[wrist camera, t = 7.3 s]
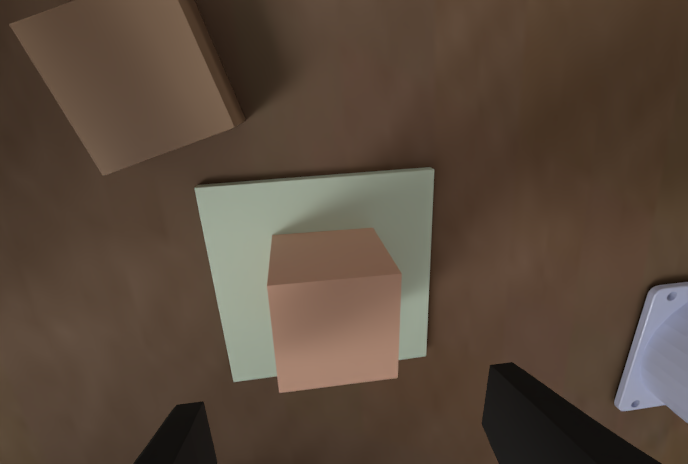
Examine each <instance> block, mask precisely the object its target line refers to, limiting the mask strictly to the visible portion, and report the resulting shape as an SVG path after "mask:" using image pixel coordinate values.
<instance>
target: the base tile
mask: <svg viewBox="0 0 688 464" xmlns="http://www.w3.org/2000/svg"><path fill="white" fill-rule="evenodd" d="M194 189H195V194H196V199H197V204H198V209H199V214H200V219H201V224H202V229H203V234H204V238H205V243H206V248H207V253H208V258H209V263H210V268H211V273H212V278H213V283H214V288H215V293H216V298H217V303H218V308H219V313H220V317H221V322H222V327H223V332H224V337H225V342H226V347H227V352H228V357H229V362H230V367H231V372H232V377H233V382H238V381H245V380H253V379H260V378H268V377H275V376H277V370H276V361H275V352H274V344H273V335H272V326H271V317H270V309H269V300H268V291H267V280H268V270H269V261H270V251H271V241H272V235H279V234H293V233H307V232H320V231H334V230H347V229H361V228H374V230H375V232H376V233H377V235H378V236H379V238H380V240H381V241H382V243H383V244H384V246H385V248H386V249H387V251H388V252H389V254H390V256H391V257H392V259H393V260H394V262H395V264H396V265H397V267H398V268H399V270H400V272H401V273H402V281H401V307H400V333H399V359H398V360H402V359H410V358H417V357H425V356H426V347H427V325H428V302H429V280H430V257H431V234H432V212H433V189H434V169H432V168H431V167H424V168H411V169H398V170H385V171H372V172H359V173H346V174H333V175H320V176H307V177H294V178H281V179H268V180H255V181H242V182H229V183H216V184H203V185H197V186H196V187H195V188H194Z"/></svg>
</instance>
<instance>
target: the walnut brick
mask: <svg viewBox="0 0 688 464" xmlns="http://www.w3.org/2000/svg"><path fill="white" fill-rule="evenodd" d="M9 25H10V27H11V28H12V30H13V32H14V33H15V35H16V36H17V38H18V40H19V41H20V43H21V45H22V46H23V48H24V49H25V51H26V53H27V54H28V56H29V58H30V59H31V61H32V62H33V64H34V66H35V67H36V69H37V70H38V72H39V74H40V75H41V77H42V79H43V80H44V82H45V83H46V85H47V87H48V88H49V90H50V91H51V93H52V95H53V96H54V98H55V100H56V101H57V103H58V104H59V106H60V108H61V109H62V111H63V112H64V114H65V116H66V117H67V119H68V121H69V122H70V124H71V125H72V127H73V129H74V130H75V132H76V133H77V135H78V137H79V138H80V140H81V142H82V143H83V145H84V146H85V148H86V150H87V151H88V153H89V155H90V156H91V158H92V159H93V161H94V163H95V164H96V166H97V167H98V169H99V171H100V172H101V174H102V176H105V175H108V174H111V173H113V172H116V171H119V170H121V169H124V168H127V167H130V166H132V165H135V164H138V163H140V162H143V161H146V160H148V159H151V158H154V157H157V156H159V155H162V154H165V153H167V152H170V151H173V150H175V149H178V148H181V147H184V146H186V145H189V144H192V143H194V142H197V141H200V140H203V139H205V138H208V137H211V136H213V135H216V134H219V133H221V132H224V131H227V130H230V129H232V128H235V127H236V126H238V125H239V124H241V123H242V122H244V121H246V119H245V117H244V114H243V112H242V110H241V107H240V105H239V103H238V100H237V98H236V96H235V93H234V91H233V89H232V86H231V84H230V82H229V79H228V77H227V75H226V72H225V70H224V68H223V65H222V63H221V61H220V58H219V56H218V54H217V52H216V49H215V47H214V45H213V42H212V40H211V38H210V35H209V33H208V31H207V28H206V26H205V24H204V21H203V19H202V17H201V14H200V12H199V10H198V7H197V5H196V3H195V0H73V1H70V2H68V3H65V4H62V5H60V6H57V7H54V8H51V9H49V10H46V11H43V12H41V13H38V14H35V15H32V16H30V17H27V18H24V19H22V20H19V21H16V22H13V23H11V24H9Z"/></svg>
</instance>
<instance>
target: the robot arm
mask: <svg viewBox="0 0 688 464" xmlns="http://www.w3.org/2000/svg"><path fill="white" fill-rule="evenodd" d="M614 404H615V406H616V407H617V408H618V409H619V410H621V411H629V410H636V409H642V408H649V407H656V406H662V405H666V406H667V407H669V408H670V409H671V410H672V411H673V412H675V413H676V414H677V415H678V416H679V417H681V418H682V419H683V420H684V421H685V422H687V423H688V282H682V283H673V284H664V285H657V286H654V287H653V288H651V289H650V291H649V292H648V294H647V297H646V300H645V304H644V307H643V310H642V313H641V317H640V320H639V323H638V326H637V329H636V333H635V336H634V339H633V342H632V346H631V349H630V352H629V355H628V359H627V362H626V365H625V368H624V371H623V375H622V378H621V381H620V384H619V388H618V391H617V394H616V397H615V400H614ZM482 425H483V428H484V430H485V433H486V435H487V437H488V440H489V442H490V444H491V447H492V449H493V451H494V453H495V456H496V458H497V460H498V462H499V464H661V463H660V462H658V461H657V460H655V459H653V458H652V457H650V456H649V455H647V454H645V453H644V452H642V451H641V450H639V449H638V448H636V447H634V446H633V445H631V444H630V443H628V442H627V441H625V440H624V439H622V438H621V437H619V436H618V435H616V434H615V433H613V432H612V431H610V430H609V429H607V428H606V427H604V426H603V425H601V424H600V423H598V422H597V421H595V420H594V419H592V418H591V417H589V416H588V415H587V414H585V413H584V412H582V411H581V410H579V409H578V408H576V407H575V406H574V405H572V404H571V403H569V402H568V401H567V400H565V399H564V398H562V397H561V396H559V395H558V394H557V393H555V392H554V391H552V390H551V389H550V388H548V387H547V386H545V385H544V384H543V383H541V382H540V381H538V380H537V379H536V378H534V377H533V376H531V375H530V374H528V373H527V372H526V371H524V370H523V369H521V368H520V367H518V366H517V365H515V364H514V363H512V362H511V363H503V364H495V365H490V369H489V376H488V383H487V390H486V397H485V404H484V412H483V419H482ZM134 464H217V459H216V455H215V450H214V446H213V441H212V437H211V433H210V428H209V424H208V419H207V415H206V411H205V406H204V402H196V403H188V404H180V405H176V406H175V408H174V409H173V410H172V411H171V413H170V414H169V415H168V417H167V418H166V419H165V421H164V422H163V424H162V425H161V426H160V428H159V429H158V431H157V432H156V433H155V435H154V436H153V438H152V439H151V440H150V442H149V443H148V445H147V446H146V447H145V449H144V450H143V451H142V453H141V454H140V455H139V457H138V458H137V459H136V461H135V462H134Z"/></svg>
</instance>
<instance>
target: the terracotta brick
mask: <svg viewBox="0 0 688 464" xmlns="http://www.w3.org/2000/svg"><path fill="white" fill-rule="evenodd" d="M401 281H402V273H401V272H400V270H399V268H398V267H397V265H396V264H395V262H394V260H393V259H392V257H391V256H390V254H389V252H388V251H387V249H386V248H385V246H384V244H383V243H382V241H381V240H380V238H379V236H378V235H377V233H376V232H375V230H374V228H361V229H347V230H334V231H320V232H307V233H293V234H279V235H272V241H271V251H270V261H269V270H268V280H267V291H268V300H269V309H270V317H271V326H272V335H273V344H274V352H275V361H276V370H277V379H278V387H279V393H283V392H291V391H299V390H307V389H315V388H322V387H330V386H338V385H346V384H354V383H362V382H369V381H377V380H385V379H393V378H398V359H399V333H400V307H401Z"/></svg>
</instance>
